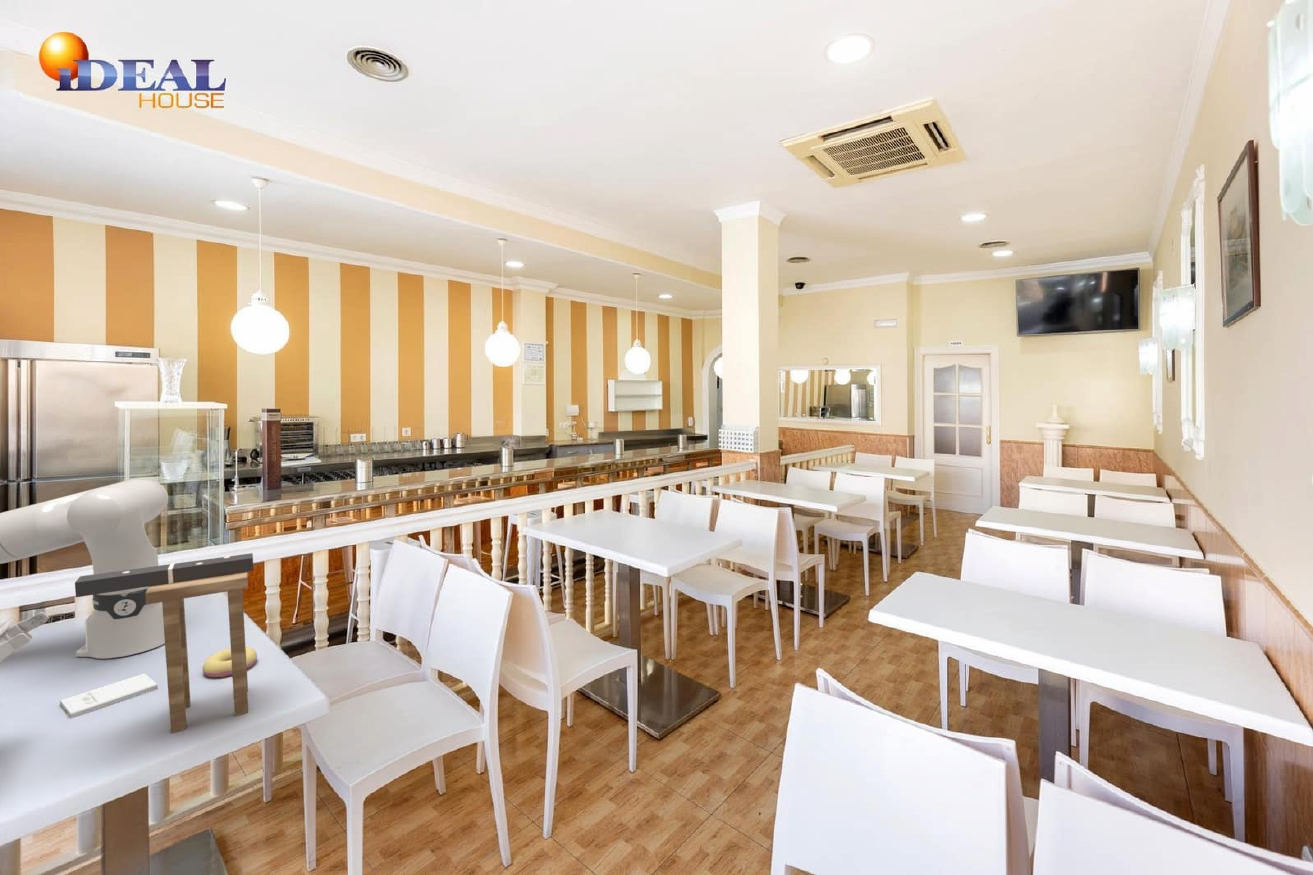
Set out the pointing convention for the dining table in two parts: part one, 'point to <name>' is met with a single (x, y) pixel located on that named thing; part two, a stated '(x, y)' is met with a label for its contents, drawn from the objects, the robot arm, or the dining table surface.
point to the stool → (177, 640)
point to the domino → (162, 574)
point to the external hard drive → (107, 695)
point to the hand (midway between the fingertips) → (37, 625)
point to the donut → (225, 663)
